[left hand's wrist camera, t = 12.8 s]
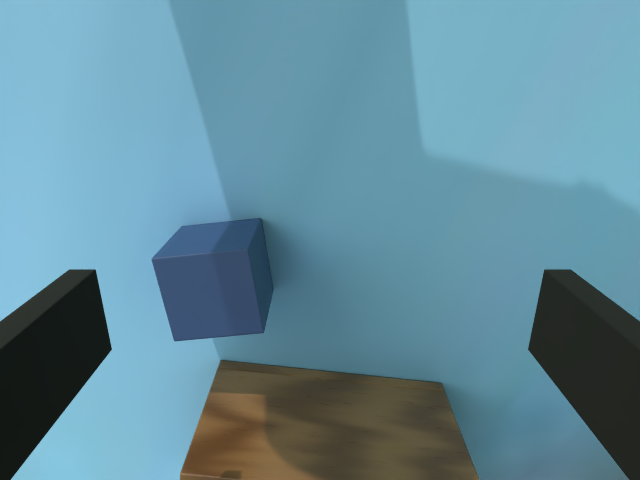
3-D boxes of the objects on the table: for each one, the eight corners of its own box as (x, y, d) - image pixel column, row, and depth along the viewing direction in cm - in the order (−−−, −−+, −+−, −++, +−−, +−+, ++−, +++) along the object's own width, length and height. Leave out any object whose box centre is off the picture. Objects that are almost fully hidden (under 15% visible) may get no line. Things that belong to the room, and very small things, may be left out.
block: (198, 297, 27) (173, 342, 23) (181, 226, 25) (150, 258, 21) (273, 290, 27) (263, 333, 22) (261, 217, 25) (248, 248, 21)
